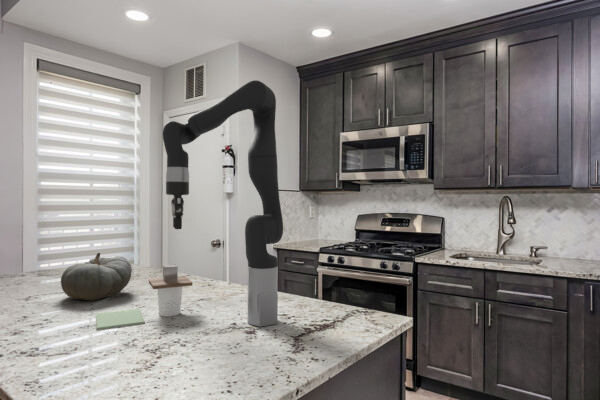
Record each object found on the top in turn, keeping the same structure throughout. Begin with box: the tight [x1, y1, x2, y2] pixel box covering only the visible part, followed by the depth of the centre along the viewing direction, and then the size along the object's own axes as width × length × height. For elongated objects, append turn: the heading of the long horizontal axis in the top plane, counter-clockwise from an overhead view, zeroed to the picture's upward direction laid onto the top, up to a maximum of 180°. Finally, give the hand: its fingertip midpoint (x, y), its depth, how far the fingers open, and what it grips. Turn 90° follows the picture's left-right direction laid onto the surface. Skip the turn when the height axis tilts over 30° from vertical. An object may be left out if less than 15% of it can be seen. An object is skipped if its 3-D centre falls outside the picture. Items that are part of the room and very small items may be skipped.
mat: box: [95, 308, 146, 331], centre depth 120 cm, size 16×13×1 cm
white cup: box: [157, 287, 183, 318], centre depth 126 cm, size 8×8×10 cm
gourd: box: [60, 252, 133, 302], centre depth 149 cm, size 25×25×17 cm
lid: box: [148, 264, 193, 290], centre depth 127 cm, size 12×12×6 cm
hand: (177, 228), depth 130 cm, fingers open, 8 cm apart
